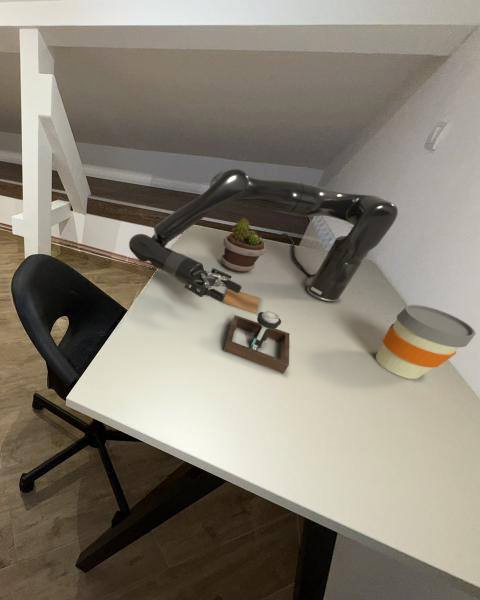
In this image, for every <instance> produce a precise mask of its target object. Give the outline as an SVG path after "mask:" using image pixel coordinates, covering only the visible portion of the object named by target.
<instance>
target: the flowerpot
mask: <svg viewBox="0 0 480 600" xmlns="http://www.w3.org/2000/svg"><path fill="white" fill-rule="evenodd" d="M249 229H251V230H249ZM259 236H260V237H259ZM222 244H223V247H224V253H223V254H222V255H221V257H220V258H221V260H220V261H221V263H222V266H223V267H224V269H225V270H228V271H230V272H233V273H237V274H240V273H241V274H245V273H249V271H252V270H253V269H254V268H255V266H256V262H257V261H258V260H259V258H260V257H262V256H263V255H265V253H267V247H266V244H265V241H263V240H262V236H261V235H258V232H256V229H255V228H252V227H251V226H250V222H249V221H248V218H245V217H241V218H240V219H239V220H238V221H236V222H235V223H234V224H233V228H232V229H231V233H230V234H229V235H227V236H225V237H224V238H223V243H222Z"/></svg>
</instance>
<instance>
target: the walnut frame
mask: <svg viewBox="0 0 480 600" xmlns="http://www.w3.org/2000/svg"><path fill="white" fill-rule="evenodd" d="M260 326H261V325H260V324H259V323H258V321H255V320H251V319H248V318H245V317H242V316H239V315H236V314H234V316H233V318H232V320H231V322H230V325H229V330H228V332H227V336H226V340H225V344H224V347H223V352H226V353H228V354H231V355H233V356H237V357H239V358H241V359H243V360H246V361H249V362H252V363H255V364H257V365H260V366H262V367H264V368H268V369H270V370H273V371H275V372H278V373H280V374H285V372H286V371H287V369H288V367H290V333H289V332H287V331H284V330H281V329H278V328H272V329H270V328H269V329H268V331H267V334H266V335H267V338H268V339H270V340H273V341H276V342H279V343H280V348H279V357H276V356H272V355H270V354H268V353H265V352H261V351H259V350H254V349H252V348H251V347H248V346H245V345H242V344H239V343H237V342H235V341H233V339H234V335H235V331H236V327H237V328H239V329H241V330H244V331H247V332H249V333H250V332H251V333H253V334H254V332H255V331H258V330H259V328H260ZM267 338H266V339H267Z"/></svg>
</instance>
